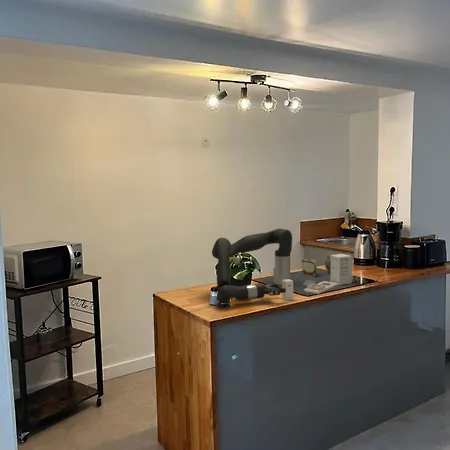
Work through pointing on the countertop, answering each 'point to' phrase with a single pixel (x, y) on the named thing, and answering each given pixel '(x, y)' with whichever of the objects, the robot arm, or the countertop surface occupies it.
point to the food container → (309, 267)
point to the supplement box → (341, 269)
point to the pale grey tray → (320, 287)
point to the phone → (308, 283)
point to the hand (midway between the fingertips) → (281, 288)
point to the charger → (287, 289)
